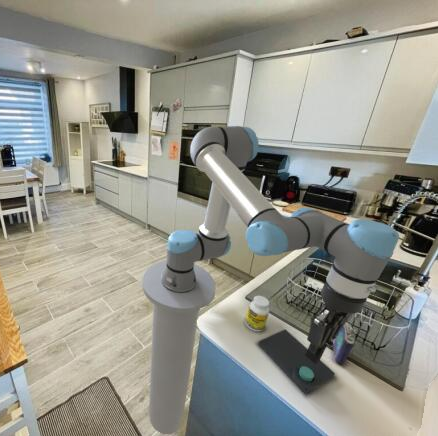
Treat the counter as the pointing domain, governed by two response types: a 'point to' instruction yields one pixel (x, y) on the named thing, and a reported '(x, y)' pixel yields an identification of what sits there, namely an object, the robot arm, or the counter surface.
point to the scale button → (306, 373)
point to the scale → (294, 360)
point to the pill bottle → (257, 313)
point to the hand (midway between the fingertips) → (311, 358)
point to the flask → (343, 343)
